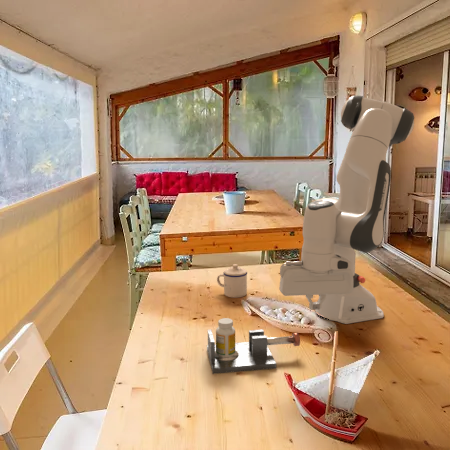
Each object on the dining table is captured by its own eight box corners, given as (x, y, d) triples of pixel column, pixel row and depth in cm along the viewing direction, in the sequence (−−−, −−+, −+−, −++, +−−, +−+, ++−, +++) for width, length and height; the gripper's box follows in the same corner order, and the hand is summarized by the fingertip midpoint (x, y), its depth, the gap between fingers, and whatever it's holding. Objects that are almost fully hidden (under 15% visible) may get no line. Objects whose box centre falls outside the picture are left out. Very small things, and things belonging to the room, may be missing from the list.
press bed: (264, 345, 145) (264, 321, 143) (276, 368, 131) (276, 342, 130) (207, 349, 142) (206, 325, 141) (212, 373, 129) (212, 347, 127)
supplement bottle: (216, 358, 133) (216, 325, 131) (215, 349, 139) (214, 317, 137) (236, 357, 134) (236, 324, 132) (234, 348, 139) (234, 316, 137)
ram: (296, 342, 140) (296, 330, 139) (299, 348, 137) (300, 335, 136) (251, 345, 138) (251, 333, 138) (253, 351, 135) (253, 339, 134)
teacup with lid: (250, 291, 191) (250, 262, 189) (242, 299, 183) (242, 269, 180) (221, 288, 195) (221, 259, 193) (212, 295, 187) (212, 266, 184)
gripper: (283, 264, 129) (281, 314, 132) (357, 262, 132) (354, 311, 135) (277, 258, 135) (275, 306, 138) (348, 256, 138) (345, 303, 141)
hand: (315, 309), depth 136 cm, fingers closed
